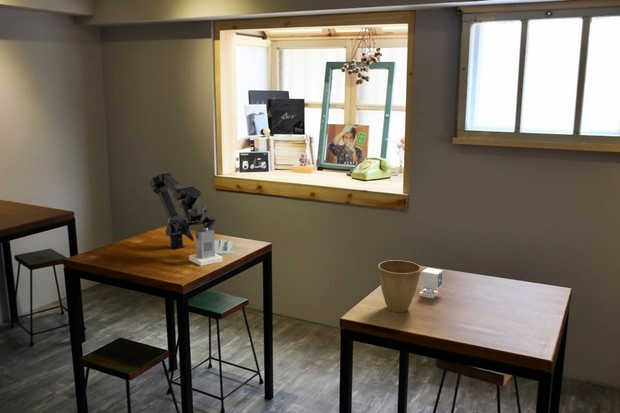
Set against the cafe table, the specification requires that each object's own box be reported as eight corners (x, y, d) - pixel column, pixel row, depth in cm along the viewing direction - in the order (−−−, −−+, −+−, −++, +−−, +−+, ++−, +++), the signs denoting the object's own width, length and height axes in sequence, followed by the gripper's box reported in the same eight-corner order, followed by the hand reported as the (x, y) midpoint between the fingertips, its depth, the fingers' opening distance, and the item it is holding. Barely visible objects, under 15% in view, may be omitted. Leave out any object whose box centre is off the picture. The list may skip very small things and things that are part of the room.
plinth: (189, 260, 278) (189, 255, 278) (210, 255, 285) (210, 251, 284) (201, 265, 270) (200, 261, 269) (222, 261, 276) (222, 256, 276)
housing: (196, 256, 277) (195, 228, 274) (209, 253, 281) (208, 226, 278) (202, 258, 273) (201, 230, 270) (215, 256, 277) (214, 228, 274)
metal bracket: (206, 236, 298) (236, 236, 298) (207, 246, 301) (237, 246, 301) (201, 252, 286) (233, 252, 286) (202, 262, 288) (234, 262, 289)
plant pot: (370, 311, 217) (371, 268, 214) (387, 298, 230) (388, 257, 226) (409, 320, 210) (411, 275, 206) (425, 306, 222) (427, 264, 219)
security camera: (436, 299, 229) (437, 274, 227) (418, 296, 233) (419, 271, 231) (442, 294, 234) (443, 269, 232) (424, 291, 238) (425, 266, 236)
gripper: (176, 203, 272) (189, 232, 266) (213, 198, 283) (226, 226, 277) (169, 217, 280) (181, 245, 274) (205, 211, 291) (217, 239, 285)
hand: (202, 238), depth 277 cm, fingers open, 9 cm apart
